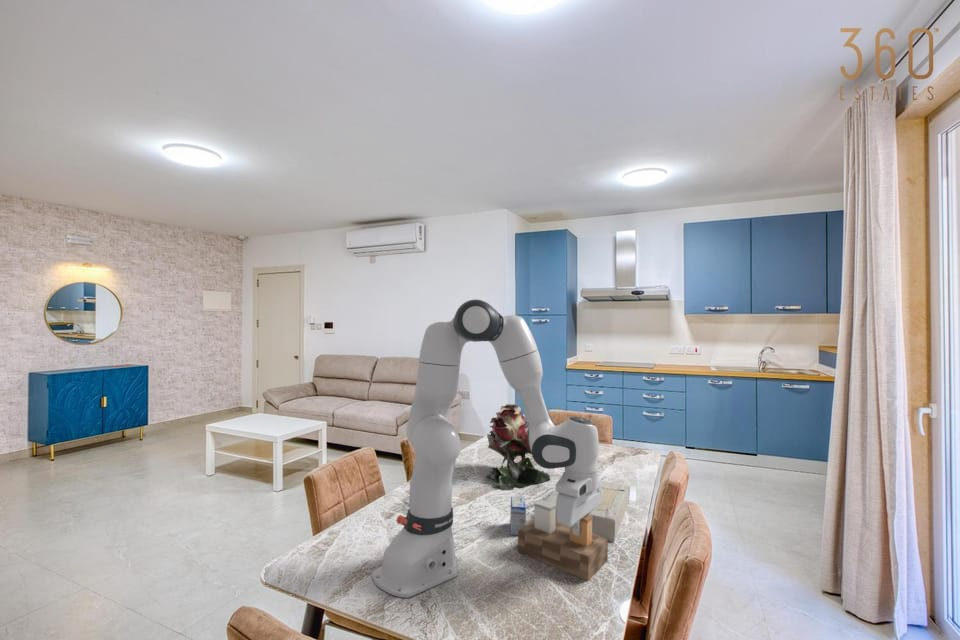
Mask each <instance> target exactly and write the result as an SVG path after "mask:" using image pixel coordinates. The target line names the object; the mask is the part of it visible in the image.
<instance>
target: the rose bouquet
mask: <svg viewBox="0 0 960 640" xmlns="http://www.w3.org/2000/svg"><path fill="white" fill-rule="evenodd" d="M521 411H522V408H521V406H519V405H518V404H512V403H506V404H505V405H502V406H500V408H499V412H498V411H496V413H495V415H496V417H492V418H490V422H489V424H492V425H490V426H489V427H490V428H491V429H492V430H490V431H489V433H488V434H487V435H486V437H487V442H488V446H487V448H488V449H491V450H492V451H495V452H496V453H498V454H499V455H501V456H502V457H503V459H502V461H501V462H502V464H501V466H500V467H498V466H496V467H491V471H489V472H488V473H490V474H487V475H485V478H486V479H487V478H491V479H493V480H495V481H496V482H497V483H495V482H494V483H493V484H494V485H495V486H497V487H498V488H500V489H501V490H502V491H513V490H516V489H518V490H520V489H523V488H527V487H530V486H532V485H534V484H535V485H536V484H541V483H544V482H546V481H548V480H551V476H550V474H549V473H547V472H544V470H542V471H541V470H540V469H537V468H535V467H534V465H533V463H532V461H531V459H530V457H529V456H527V457H526V455H527V454H530V455H532V453H531V449H530V446H529V444H528V427H529V425H528V424H527V423H528V420H527V418H526V414H525V413H523V412H521ZM517 457H520V458H521V460H519V461H518V462H516V461H515V460H516V459H517ZM505 462H506V466H503V465H504V463H505Z"/></svg>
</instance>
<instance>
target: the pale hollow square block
mask: <svg viewBox="0 0 960 640" xmlns="http://www.w3.org/2000/svg"><path fill="white" fill-rule="evenodd" d="M601 484H602V503H601V504H600V505H599V506H598V507H596V508H595V509H594V510H592V511H591V516H593V519H592V533H593V534H596V535H599V536H602V537H605V538H608V542H613V543H615V541H616V538H617V535H618V533H619V530H620V527H621V525H622V522H623V519H624V516H625V513H626V511H627V508H628V505H629V504H630V496H631V495H630V493H631V492H630V491H631V486H630V485H629V484H623V483H616V482H610V481H605V480H601ZM558 493H559V492H557V491H556V488H555V490H553V492H551V494H550V495H549V496H548V497H547V498H545V500H544V501H546V502H549V503H552V504H555V505H556V500H557V495H558ZM555 521H557V516H556V515H555ZM557 522H558V521H557Z"/></svg>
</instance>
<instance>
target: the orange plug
mask: <svg viewBox="0 0 960 640" xmlns="http://www.w3.org/2000/svg"><path fill="white" fill-rule="evenodd" d="M592 519H593V516H591V515H586V516H585V517H583V518H582V519H581V520H580V523H579V526H580V527H581V534H580V535H578V536H577V535H574V534H573V527H572V526H571V527H570V541H572V542H575V543H578V544H580V545H583V546H586V547H588V546H589V545H590V544H592Z"/></svg>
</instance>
